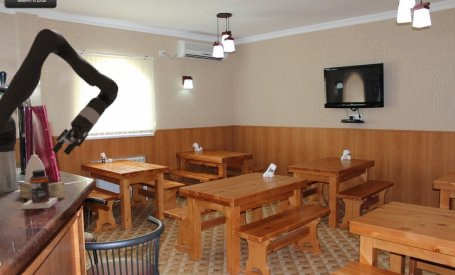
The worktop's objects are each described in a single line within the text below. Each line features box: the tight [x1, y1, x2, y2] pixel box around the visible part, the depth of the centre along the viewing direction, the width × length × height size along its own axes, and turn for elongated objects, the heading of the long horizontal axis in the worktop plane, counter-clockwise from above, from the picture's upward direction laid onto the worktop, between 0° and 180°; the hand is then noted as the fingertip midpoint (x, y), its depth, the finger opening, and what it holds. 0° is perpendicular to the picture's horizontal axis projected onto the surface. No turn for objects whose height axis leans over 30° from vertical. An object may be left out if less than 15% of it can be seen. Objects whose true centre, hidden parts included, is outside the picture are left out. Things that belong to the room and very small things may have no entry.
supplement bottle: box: [30, 169, 50, 203], centre depth 137 cm, size 6×6×11 cm
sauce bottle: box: [24, 150, 47, 181], centre depth 162 cm, size 8×8×18 cm
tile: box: [21, 198, 59, 210], centre depth 137 cm, size 9×9×2 cm
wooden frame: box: [19, 180, 66, 200], centre depth 150 cm, size 10×16×6 cm, turn 52°
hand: (59, 152), depth 143 cm, fingers open, 8 cm apart
